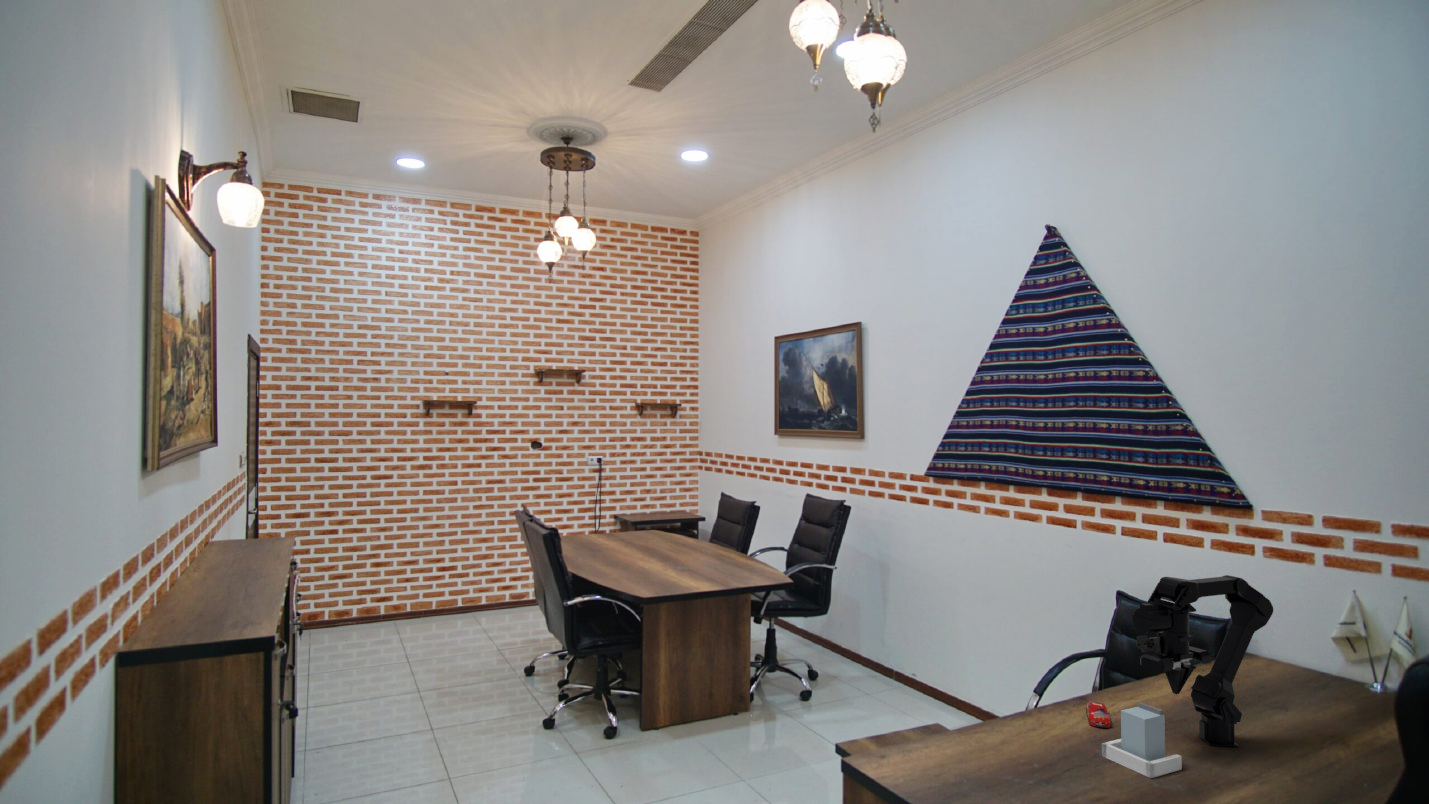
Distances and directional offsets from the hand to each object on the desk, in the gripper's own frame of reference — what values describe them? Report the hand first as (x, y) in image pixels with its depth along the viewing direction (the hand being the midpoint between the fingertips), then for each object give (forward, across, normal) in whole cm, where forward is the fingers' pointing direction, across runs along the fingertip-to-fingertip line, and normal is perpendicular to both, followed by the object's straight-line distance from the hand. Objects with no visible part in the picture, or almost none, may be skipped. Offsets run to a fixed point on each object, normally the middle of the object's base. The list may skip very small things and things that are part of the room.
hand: (1175, 693), depth 186 cm
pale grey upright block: (+13, +15, +2) cm, 20 cm away
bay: (+13, +15, +2) cm, 20 cm away
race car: (+14, +2, -20) cm, 24 cm away
